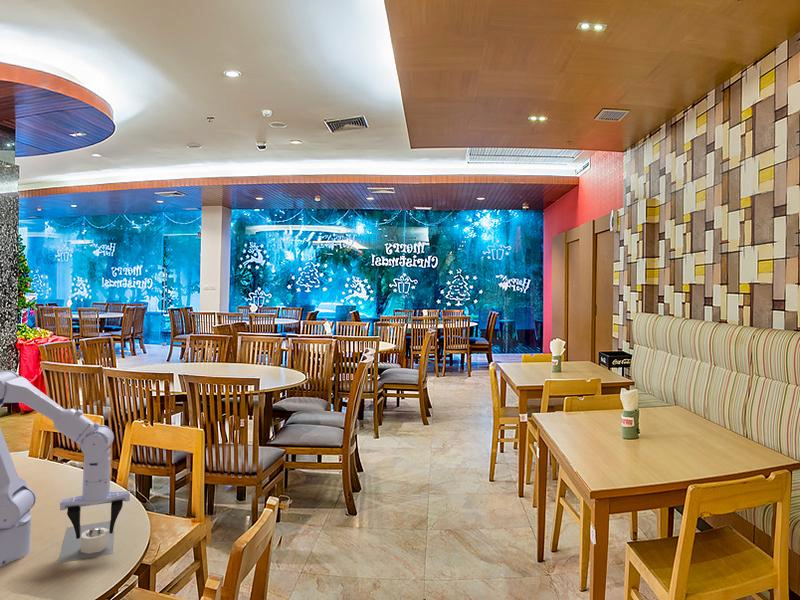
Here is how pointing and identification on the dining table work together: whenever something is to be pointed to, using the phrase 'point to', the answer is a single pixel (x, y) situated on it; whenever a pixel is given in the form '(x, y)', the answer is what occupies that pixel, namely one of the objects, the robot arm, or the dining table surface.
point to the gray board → (73, 545)
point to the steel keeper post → (95, 531)
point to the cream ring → (94, 541)
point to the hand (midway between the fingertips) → (94, 534)
